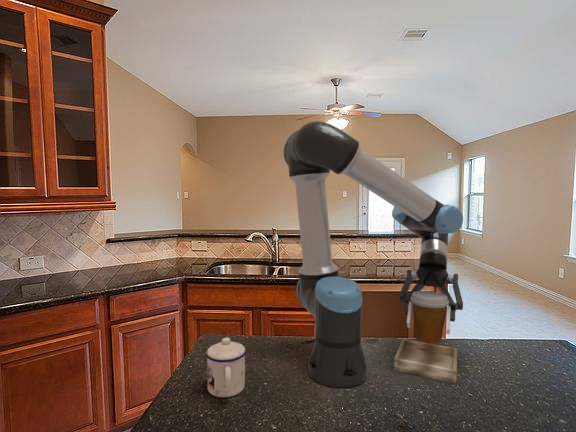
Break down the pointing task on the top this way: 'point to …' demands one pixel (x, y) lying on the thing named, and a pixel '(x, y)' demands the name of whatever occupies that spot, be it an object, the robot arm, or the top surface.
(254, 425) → the top surface
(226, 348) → the teacup with lid
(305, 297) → the robot arm
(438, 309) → the disposable coffee cup
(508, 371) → the top surface
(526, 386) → the top surface
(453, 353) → the birch tray
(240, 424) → the top surface
